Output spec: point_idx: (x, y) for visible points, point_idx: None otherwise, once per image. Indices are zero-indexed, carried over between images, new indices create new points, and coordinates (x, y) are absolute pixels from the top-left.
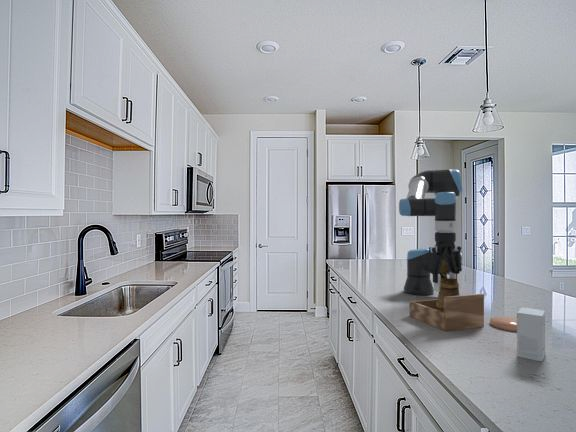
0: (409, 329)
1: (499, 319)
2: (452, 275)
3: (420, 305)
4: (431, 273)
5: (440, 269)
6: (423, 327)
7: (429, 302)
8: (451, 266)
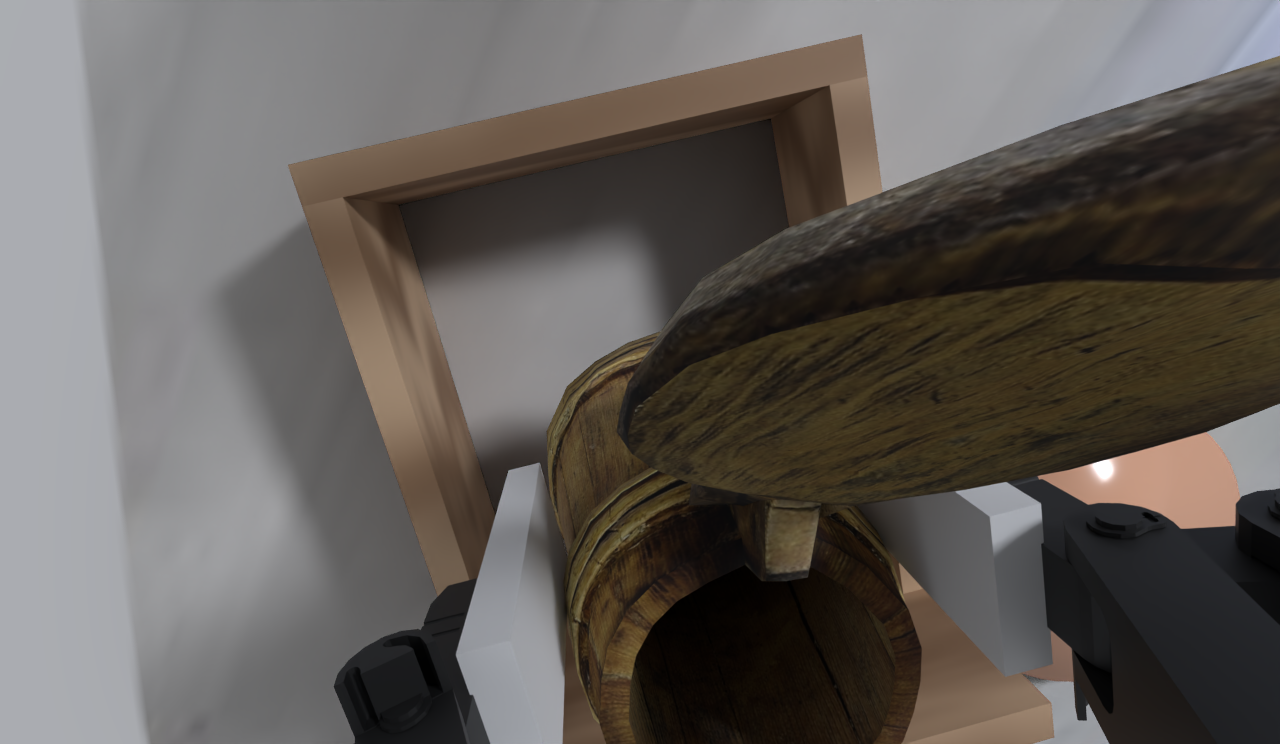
0: (214, 582)
1: (1066, 483)
2: (967, 581)
3: (364, 380)
4: (380, 657)
5: (815, 463)
6: (359, 537)
7: (596, 142)
8: (1155, 739)
